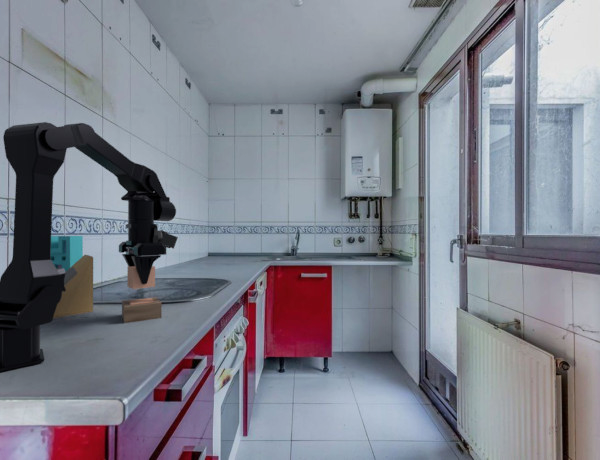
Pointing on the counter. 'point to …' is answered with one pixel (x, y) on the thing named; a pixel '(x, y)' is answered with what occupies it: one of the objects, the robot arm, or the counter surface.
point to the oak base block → (141, 309)
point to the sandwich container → (77, 289)
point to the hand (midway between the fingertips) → (141, 282)
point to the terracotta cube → (135, 280)
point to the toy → (66, 250)
